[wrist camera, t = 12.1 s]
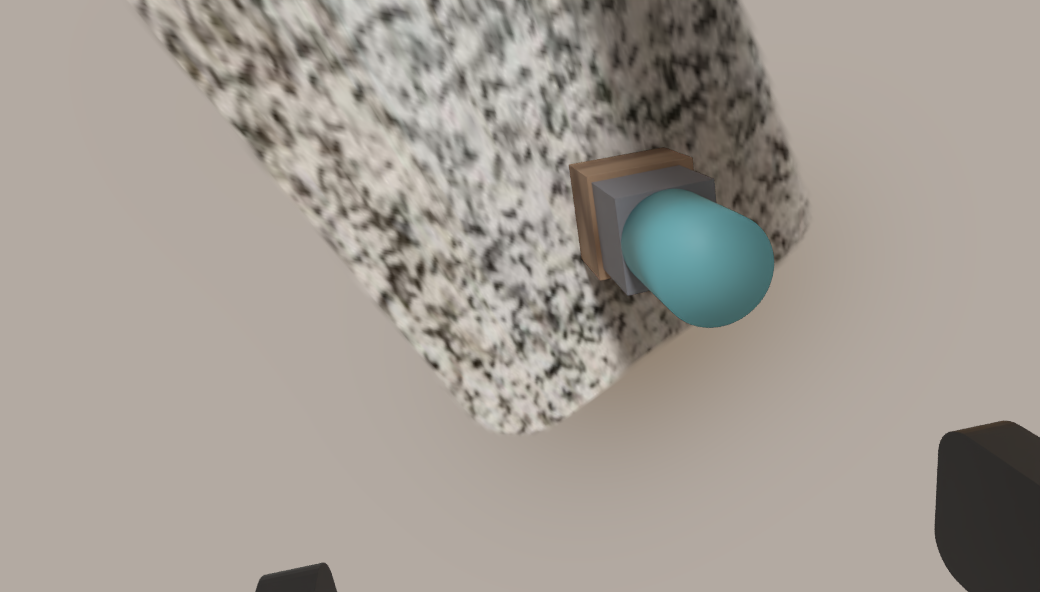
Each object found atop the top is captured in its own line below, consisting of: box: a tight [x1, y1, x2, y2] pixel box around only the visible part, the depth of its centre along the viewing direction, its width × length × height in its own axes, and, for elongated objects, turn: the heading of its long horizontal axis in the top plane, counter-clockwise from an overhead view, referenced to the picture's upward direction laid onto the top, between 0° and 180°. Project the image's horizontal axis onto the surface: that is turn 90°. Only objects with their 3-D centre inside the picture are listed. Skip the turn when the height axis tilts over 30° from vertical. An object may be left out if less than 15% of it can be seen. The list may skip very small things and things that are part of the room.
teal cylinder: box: [621, 189, 774, 328], centre depth 33 cm, size 5×5×6 cm
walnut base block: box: [569, 147, 694, 280], centre depth 43 cm, size 6×6×5 cm
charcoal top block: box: [591, 165, 716, 296], centre depth 38 cm, size 5×5×5 cm
